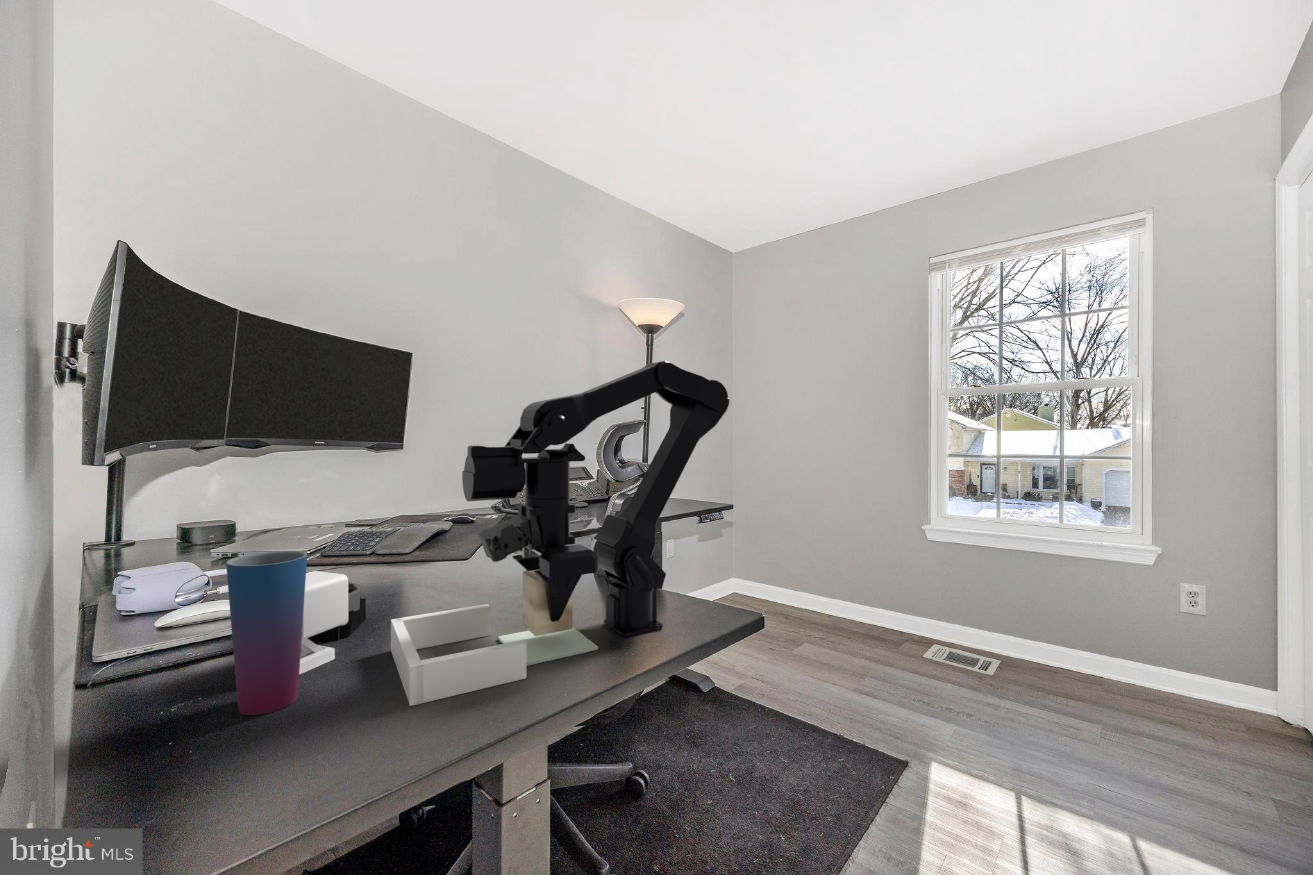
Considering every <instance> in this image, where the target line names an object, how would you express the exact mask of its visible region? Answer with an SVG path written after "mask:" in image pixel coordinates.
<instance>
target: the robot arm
mask: <svg viewBox="0 0 1313 875" xmlns="http://www.w3.org/2000/svg"><path fill="white" fill-rule="evenodd" d="M655 393H656V395H657V396H658V397H659V398H661V399H662V400H663V401H665V402H666V403H667V404H670V405H671V406H670V409H669V428H668V430H667V431H666V434H665V436H664V437H663V440H662V441H661V442H660V445H659V447H658V449H657V451H656V452H655V455H654V456H653V459H652V460H651V462H650V464H649V465H648V468H647V470H646V471H645V473H644V475H643V477H642V479H641V481H640V482H639V484H638V486H637V487H636V488H637V489H636V490H635V491H634V493H633V496H632V498H631V499H630V502H629V504H628V505H627V507H626V509H625V510H623V511H622V512H621V513H620V514H619V515H617V516H616V515H613V514H609V513H608V514H606V516H605V518H604V520H603V523H602V525H601V528H600V530H598V532H597V534H595V535H594V536H593V539H594V540H595V544H594V545H593V549H591V548H589V547H587V546H584V545H583V544H576V536H575V535H572V534H570V514H573V513H574V514H575V513H576V504H574V503H570V500H571V499H570V493H571V492H570V486H571V485H570V482H571V481H570V478H571V476H570V474H571V472H570V467H571V466H570V463H571V462H584V461H585V460H586V456H585V455H584V454H583V453H582V452H581V451H579V450H578V449H577V448H576V446H575V444H574V443H569V441H570V440H571V439H573V438H574V437H576V436H577V435H578V434H580V433H582V432H583V431H585V430H586V429H587V428H588V427H589V426H590V425H591V424H592V423H593V422H594V421H595V420H597V419H598V418H600V417H602V416H606V415H607V414H609V413H611V412H613V411H616V410H618V409H621V408H624V407H625V406H627V405H629V404H632V403H634V402H636V401H639V400H641V399H643V398H646V397H648V396H650V395H652V394H655ZM729 405H730V398H729V394H728V391H727V389H726V387H725V385H724V384H723V382H720V381H719V380H715V379H708V378H706V377H705V376H702V375H699V374H697V373H694V372H692V371H688V370H686V369H682V368H681V367H679V366H677V365H676V364H673V363H671V362H670V361H667V360H663V361H658V362H652V363H648V364H646V365H645V366H643V367H642V368H639V369H637V370H635V371H632V372H630V373H627V374H625V375H621V376H620V377H618V378H615V379H613V380H610V381H608V382H607V381H606V382H605V383H602V384H600V385H598V386H595V387H593V388H590V389H588V390H585V391H583V392H581V393H575V394H571V395H567V396H559V397H554V398H550V399H549V398H548V399H544V400H540V401H535V402H532V403H530V404H528V405H527V406H526V407H524V409H523V410H522V413H521V416H520V419H519V426H518V427H517V429H516V430H515V432H514V433H513V434H512V435H511V437H510V438H509V440H507V442H506V444H505V445H504V446H483V445H468V446H467V455H466V458H465V461H464V469H463V470H462V473H461V474H462V476H461V477H462V478H461V479H462V481H461V482H462V490H463V494H464V498H465V500H466V501H467V502H468V503H469V502H481V501H485V502H486V501H496V500H498V501H499V500H512V499H515V498H516V497H517V496H518V493H522V492H523V490H524V494H525V495H524V496H525V498H524V502H523V503H520V505H519V506H518V507H517V509H518V510H517V516H515V517H512V518H509V519H506V520H504V521H501V522H499V523H497V524H495V525H492V526H490V527H488V528H486V529H483V530H481V531H480V532H479V533H478V538H479V541H480V543H481V545H482V549H483V551H484V553H485V556H486V557H487V558H489V559H491V561H492V562H493V563H495V562H500V561H503V560H504V559H507V557H509V555H512V554H514V553H515V552H517V554H515V555H512V556H511V557H512V559H513V560H514V561H515V562H516V563H518V565H520V566H521V567H522V568H524V569H523V570H524V572H525V571H533V570H537V571H534V573H535V574H536V575H537V576H539V577H540V578H541V579H542V580H543V581H544V582H545V588H546V595H547V602H548V610H549V615H550V620H551V621H552V622H555V621H559V620H560V618H561V616H562V614H563V612H564V609H565V607H566V605H567V603H568V601H569V599H570V597H571V595H572V593H573V592H574V591H575V589H576V586H577V585H578V583H579V582H580V579H581V578H582V576H583V575H590V574H595V573H598V571H599V567H600V568H601V569H602V571H603V574H604V576H605V579H606V580H611V581H612V582H610V583H608V594H607V595H606V598H605V609H606V610H605V618H604V619H603V623H604V624H605V625H606V626H608V627H609V628H611V629H612V630H613V631H615V632H616V633H618V634H619V635H621V636H622V637H628V636H633V635H638V634H643V633H647V632H651V631H650V630H652V631H654V630H653V629H656V630H658V629H657V628H661V629H663V628H664V625H663V623H662V622H660V621H658V590H659V589H662V588H663V586H664V583H665V579H666V575H667V574H666V571H664V570H663V569H662V568H661V567H660V566H659V565H658V564H657V562H655V561H654V560H653V559H652V557H653V553H654V551H655V548H656V542H657V541H656V539H657V538H656V536H657V524H658V521H659V518H660V517H661V515H662V513H663V512H664V510H665V507H666V505H667V503H668V502H669V500H670V498H671V496H672V493H673V491H674V489H675V487H676V485H677V483H678V482H679V480H680V478H681V475H682V474H683V472H684V470H685V468H686V466H687V464H688V462H689V460H690V458H691V456H692V454H693V452H694V451H695V449H696V446H697V445H698V442H699V441H700V439H701V438H703V437H704V436H705V435H706V434H708V433H709V432H710V431H711V430H713V429H714V428H715V427H716V426H717V425H718V424H719V422H720V420H721V419H722V418H723V417H724V415H725V413H726V412H727V410H728V408H729ZM559 445H563V446H562V447H561V448H555V449H554V448H551V449H550V448H548V447H550V446H559ZM547 448H548V449H547ZM523 454H524V455H526V454H528V455H529V454H531V455H532V454H533V455H534V454H537V456H533V457H532V456H531V457H530V456H529V457H523ZM662 627H663V628H662ZM646 631H647V632H646Z"/></svg>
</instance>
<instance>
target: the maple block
mask: <svg viewBox="0 0 1313 875" xmlns="http://www.w3.org/2000/svg"><path fill="white" fill-rule="evenodd" d="M534 571H537V570H533V571H525V570H524V571H522V625H523V627H525V628H526V630H527V631H530V632H531V633H532V634H533V635H534V636H540V635H545V634H550V633H555V632H560V631H565V630H570V629H572V627H573V628H574V625H573V621H574V620H573V612H574V611H573V606H574V605H573V604H574V603H573V601H574V600H573V597H574V596H573V593H572V595H571V597H570V599H569V601H568V603H567V605H566V607H565V609H564V612H563V614H562V616H561V618H560V620H559V621H555V622H552V621H551V620H550V615H549V610H548V602H547V595H546V588H545V582H544V581H543V580H542V579H541V578H540V577H539V576H537V575H536V574H535V573H534Z"/></svg>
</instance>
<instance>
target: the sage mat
mask: <svg viewBox="0 0 1313 875" xmlns="http://www.w3.org/2000/svg"><path fill="white" fill-rule="evenodd" d="M497 640H498V641H499V642H500V643H501V644H505V643H510V642H515V641H520V640H524V641H525V642H526V643H527V644H526V667H527V666H531V665H536V664H540V663H544V662H548V661H549V662H550V661H554V660H558V659H562V658H563V659H564V658H566V657H572V656H575V655H581V654H585V653H589V652H593V651H597V650H599V647H598V645H596V643H594V642H592V641H591V639H588V637H586V636H585V635H583V634H582V633H581V632H580V631H578V630H577V629H575V627H574V626H573V627H572V629H570V630H565V631H560V632H555V633H550V634H545V635H540V636H534V635H533V634H532V633H531V632H530V631H529V630H524V631H519V632H514V633H509V634H505V635H504V634H503V635H498V637H497Z"/></svg>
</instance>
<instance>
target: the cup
mask: <svg viewBox="0 0 1313 875" xmlns="http://www.w3.org/2000/svg"><path fill="white" fill-rule="evenodd" d="M307 561H308V554H307V552H305V551H301V550H273V551H261V552H254V553H250V554H244V555H240V556H236V557H233V558H230V559H228V560H227V561H226V562H225V564H226V578H227V589H228V601H229V602H228V604H229V613H230V614H229V615H230V626H231V636H232V648H233V649H232V650H233V652H232V653H233V659H234V660H233V661H234V662H233V663H234V675H235V687H236V697H237V707H238V708H237V710H238V713H240V714H242V715H247V716H259V715H266V714H269V713H274V712H277V711H279V710H282V709H285V708H286V707H289V706H291V705H292V704H293V703H294V702H296V701H297V699H298V696H299V683H300V682H299V681H300V675H299V669H300V654H301V640H302V625H303V610H304V595H305V581H306V573H307V564H308V563H307Z"/></svg>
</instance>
